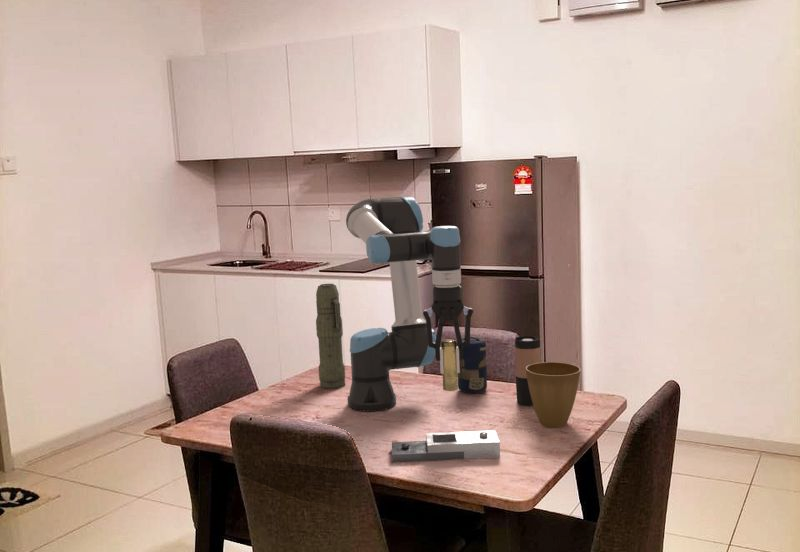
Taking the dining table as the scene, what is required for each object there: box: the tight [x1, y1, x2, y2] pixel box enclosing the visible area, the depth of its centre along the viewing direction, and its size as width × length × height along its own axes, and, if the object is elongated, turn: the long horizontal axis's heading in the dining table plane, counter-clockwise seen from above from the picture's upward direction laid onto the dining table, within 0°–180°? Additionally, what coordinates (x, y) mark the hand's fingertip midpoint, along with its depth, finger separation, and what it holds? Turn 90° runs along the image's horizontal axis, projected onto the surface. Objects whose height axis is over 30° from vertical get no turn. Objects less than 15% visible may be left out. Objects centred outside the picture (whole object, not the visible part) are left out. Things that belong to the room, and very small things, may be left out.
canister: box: [456, 336, 488, 394], centre depth 254 cm, size 10×10×18 cm
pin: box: [440, 339, 459, 392], centre depth 209 cm, size 4×4×13 cm
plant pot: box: [526, 361, 582, 429], centre depth 219 cm, size 15×15×16 cm
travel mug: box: [514, 335, 542, 407], centre depth 239 cm, size 8×8×20 cm
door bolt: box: [391, 429, 501, 463], centre depth 200 cm, size 9×27×5 cm, turn 91°
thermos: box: [315, 283, 346, 390], centre depth 267 cm, size 9×12×35 cm
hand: (449, 371), depth 210 cm, fingers closed on pin, 3 cm apart
